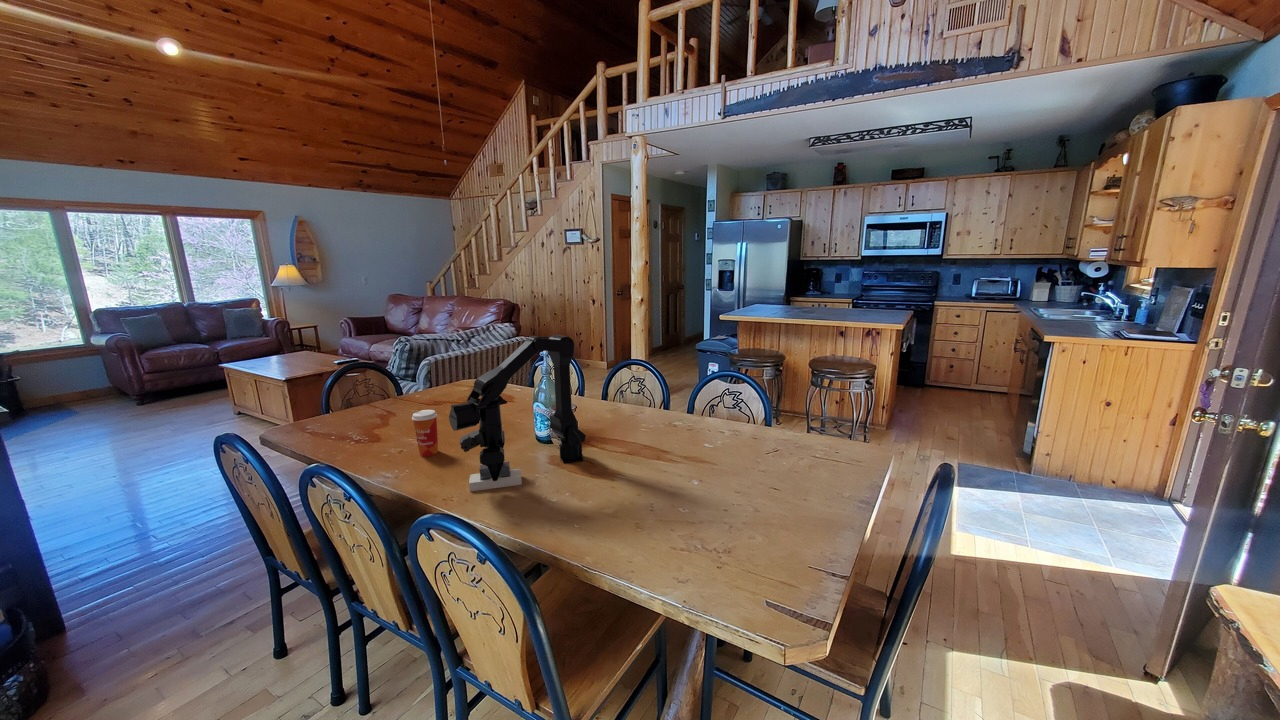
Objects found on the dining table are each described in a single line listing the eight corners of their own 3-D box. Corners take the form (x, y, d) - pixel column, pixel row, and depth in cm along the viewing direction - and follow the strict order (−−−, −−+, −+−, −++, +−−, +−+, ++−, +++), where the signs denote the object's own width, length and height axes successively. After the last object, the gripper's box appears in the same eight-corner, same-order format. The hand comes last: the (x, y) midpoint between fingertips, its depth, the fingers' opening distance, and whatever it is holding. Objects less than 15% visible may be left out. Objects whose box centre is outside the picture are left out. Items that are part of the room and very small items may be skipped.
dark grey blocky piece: (510, 478, 141) (509, 461, 140) (510, 482, 138) (509, 465, 137) (481, 482, 139) (480, 465, 138) (481, 486, 136) (479, 469, 135)
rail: (521, 476, 143) (520, 468, 143) (521, 484, 138) (521, 476, 137) (471, 482, 140) (470, 474, 139) (469, 491, 134) (468, 483, 134)
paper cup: (411, 455, 160) (405, 415, 157) (429, 447, 167) (424, 408, 164) (429, 459, 157) (424, 417, 154) (446, 450, 164) (442, 410, 161)
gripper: (462, 414, 142) (468, 464, 145) (456, 436, 124) (462, 493, 127) (502, 410, 144) (506, 459, 148) (501, 431, 127) (506, 487, 130)
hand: (495, 473), depth 138 cm, fingers open, 9 cm apart
